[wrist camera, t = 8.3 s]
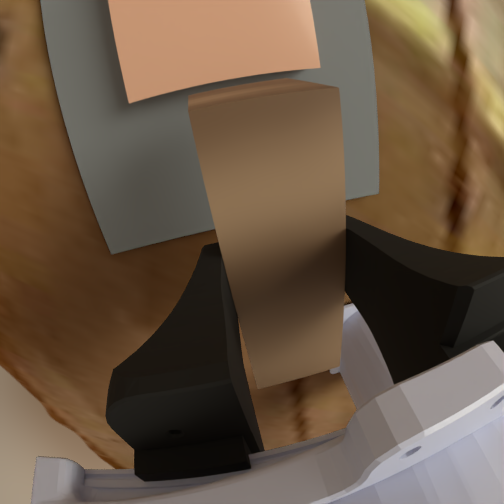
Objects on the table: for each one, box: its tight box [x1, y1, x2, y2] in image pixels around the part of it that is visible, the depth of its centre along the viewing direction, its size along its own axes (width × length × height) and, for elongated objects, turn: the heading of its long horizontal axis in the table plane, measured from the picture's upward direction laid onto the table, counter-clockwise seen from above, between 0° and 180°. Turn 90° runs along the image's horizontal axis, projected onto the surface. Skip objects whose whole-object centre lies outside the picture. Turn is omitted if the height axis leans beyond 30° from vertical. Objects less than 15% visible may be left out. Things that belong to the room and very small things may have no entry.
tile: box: [108, 0, 321, 103], centre depth 13 cm, size 2×10×9 cm
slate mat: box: [40, 0, 379, 254], centre depth 16 cm, size 20×19×1 cm
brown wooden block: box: [188, 78, 346, 389], centre depth 13 cm, size 12×4×5 cm, turn 9°
